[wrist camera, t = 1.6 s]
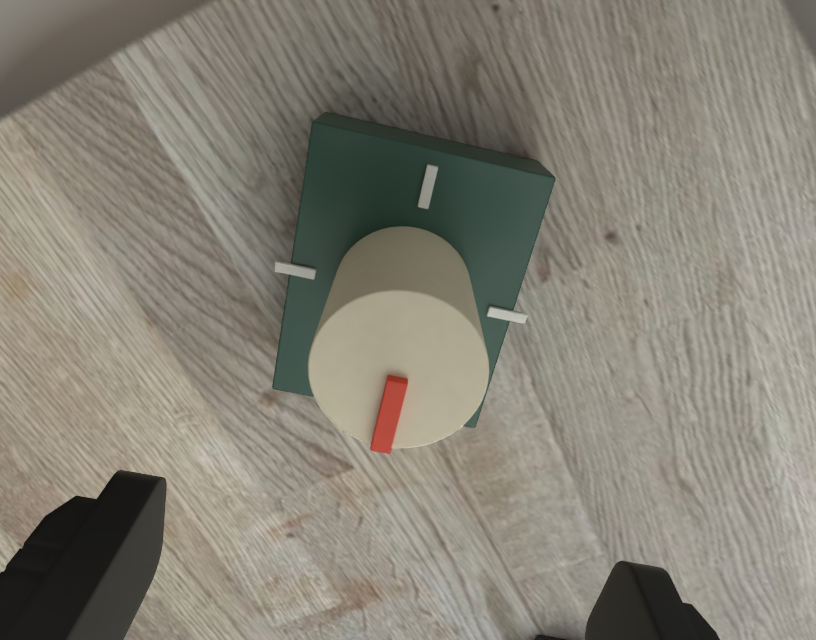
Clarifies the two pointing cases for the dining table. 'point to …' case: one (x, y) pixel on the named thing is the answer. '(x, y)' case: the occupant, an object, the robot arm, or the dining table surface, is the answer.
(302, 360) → the dial panel
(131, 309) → the dining table surface
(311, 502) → the dining table surface
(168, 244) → the dining table surface
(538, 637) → the button box
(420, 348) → the dial
